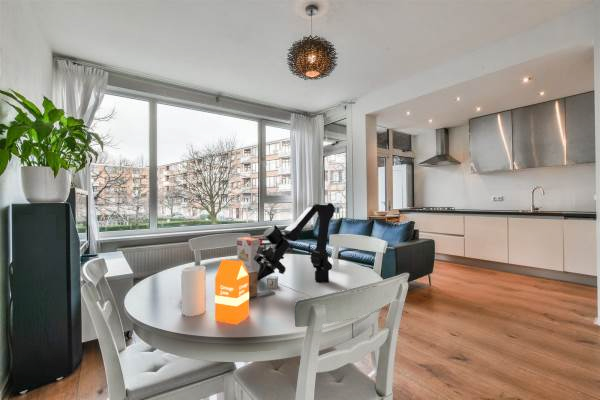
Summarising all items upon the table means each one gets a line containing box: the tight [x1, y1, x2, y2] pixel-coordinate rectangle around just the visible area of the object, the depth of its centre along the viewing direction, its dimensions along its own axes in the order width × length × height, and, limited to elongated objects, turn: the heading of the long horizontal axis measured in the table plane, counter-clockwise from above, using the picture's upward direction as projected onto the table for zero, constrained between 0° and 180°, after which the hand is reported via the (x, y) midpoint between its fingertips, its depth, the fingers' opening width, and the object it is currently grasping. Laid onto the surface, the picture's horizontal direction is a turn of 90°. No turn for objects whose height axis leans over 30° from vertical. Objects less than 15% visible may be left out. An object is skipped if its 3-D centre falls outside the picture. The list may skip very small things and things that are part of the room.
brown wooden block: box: [247, 270, 259, 297], centre depth 116 cm, size 12×3×10 cm, turn 128°
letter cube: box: [266, 275, 279, 289], centre depth 134 cm, size 4×5×4 cm
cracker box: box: [236, 236, 261, 272], centre depth 149 cm, size 14×6×21 cm, turn 42°
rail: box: [249, 289, 276, 301], centre depth 118 cm, size 22×4×2 cm, turn 128°
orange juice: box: [214, 259, 250, 325], centre depth 98 cm, size 8×9×20 cm
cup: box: [181, 265, 207, 317], centre depth 104 cm, size 8×8×16 cm
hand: (256, 280), depth 120 cm, fingers closed
